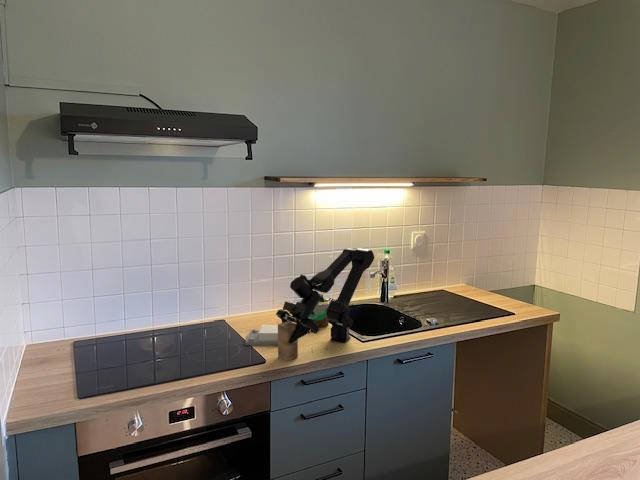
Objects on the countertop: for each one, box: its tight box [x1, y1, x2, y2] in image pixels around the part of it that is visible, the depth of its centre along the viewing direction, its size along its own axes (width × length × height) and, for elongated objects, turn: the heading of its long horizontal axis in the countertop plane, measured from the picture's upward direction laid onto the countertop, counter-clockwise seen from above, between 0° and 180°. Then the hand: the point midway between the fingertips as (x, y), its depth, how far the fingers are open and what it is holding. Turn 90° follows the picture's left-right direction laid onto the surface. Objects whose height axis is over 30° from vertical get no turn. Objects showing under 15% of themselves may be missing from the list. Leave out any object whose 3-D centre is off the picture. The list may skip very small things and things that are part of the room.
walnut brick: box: [277, 321, 299, 362], centre depth 179 cm, size 5×5×12 cm
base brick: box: [244, 324, 278, 346], centre depth 199 cm, size 20×14×4 cm
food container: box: [309, 302, 330, 328], centre depth 215 cm, size 12×6×10 cm, turn 62°
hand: (284, 340), depth 178 cm, fingers closed on walnut brick, 5 cm apart
